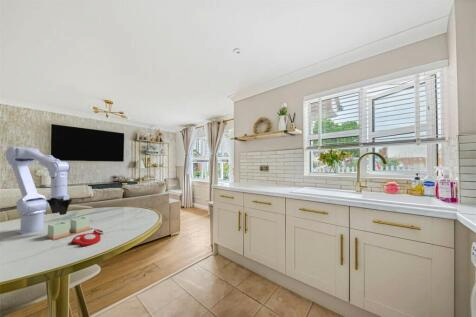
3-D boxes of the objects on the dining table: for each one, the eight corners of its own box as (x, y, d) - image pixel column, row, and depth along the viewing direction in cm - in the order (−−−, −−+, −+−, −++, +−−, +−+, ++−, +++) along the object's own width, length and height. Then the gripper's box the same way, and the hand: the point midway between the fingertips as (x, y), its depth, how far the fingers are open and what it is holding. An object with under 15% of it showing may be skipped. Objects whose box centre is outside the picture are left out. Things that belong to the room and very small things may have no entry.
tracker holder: (100, 241, 75) (69, 241, 70) (97, 251, 75) (66, 252, 71) (106, 226, 86) (79, 225, 81) (103, 235, 86) (77, 234, 81)
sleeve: (47, 237, 81) (47, 224, 81) (63, 232, 86) (63, 221, 86) (53, 239, 79) (53, 226, 79) (69, 234, 84) (69, 222, 84)
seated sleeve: (70, 230, 88) (70, 219, 89) (83, 227, 94) (83, 216, 94) (76, 232, 86) (76, 220, 86) (90, 228, 91) (89, 217, 91)
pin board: (43, 239, 81) (43, 229, 82) (83, 228, 95) (83, 219, 95) (53, 242, 77) (53, 232, 77) (94, 230, 91) (94, 221, 91)
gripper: (41, 186, 89) (41, 214, 88) (55, 187, 83) (55, 217, 82) (60, 184, 95) (60, 210, 95) (74, 185, 89) (74, 213, 89)
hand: (59, 213), depth 89 cm, fingers open, 7 cm apart
